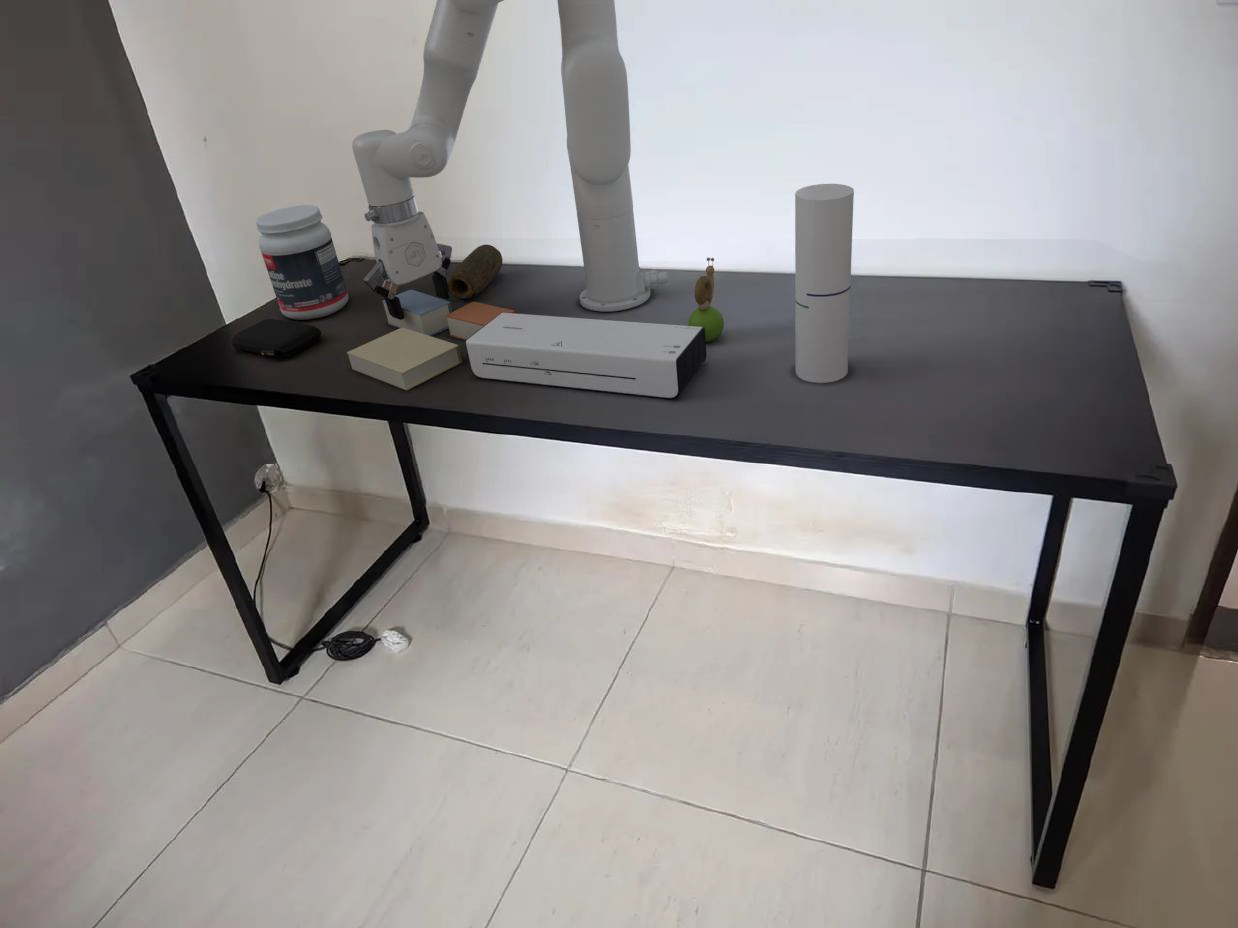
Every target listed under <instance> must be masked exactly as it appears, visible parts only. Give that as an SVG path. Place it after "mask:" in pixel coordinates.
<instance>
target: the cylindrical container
mask: <svg viewBox="0 0 1238 928" xmlns="http://www.w3.org/2000/svg"><path fill="white" fill-rule="evenodd" d="M854 194H855V190H854V188H853V187H852V186H849V185H846V184H841V183H819V184H812V185H807V186H803V187H801V188H799V189H797V190H796V191H795V193H794V233H795V234H794V239H795V240H794V243H795V244H794V246H795V249H794V250H795V251H794V252H795V253H794V254H795V255H794V258H795V260H794V263H795V264H794V268H795V269H794V271H795V272H794V274H795V275H794V277H795V279H794V280H795V281H794V283H795V285H794V286H795V287H794V289H795V290H794V291H795V292H794V293H795V295H794V296H795V298H794V299H795V300H794V301H795V304H794V305H795V306H794V307H795V309H794V310H795V311H794V312H795V321H794V324H795V332H794V333H795V335H794V336H795V337H794V339H795V351H794V353H795V359H794V361H795V365H794V367H795V374H796V376H797V377H798V378H799V379H800V380H803V381H806V382H808V383H809V382H810V383H815V384H825V383H833V382H836V381H839V380H842V379H844V378H845V377H846V376H847V375H848V371H849V345H850V344H849V342H850V316H851V315H850V311H851V310H850V309H851V287H852V286H851V283H852V258H853V257H852V256H853V255H852V254H853V253H852V252H853V251H852V250H853V226H854V225H853V223H854V222H853V221H854V197H855V196H854Z"/></svg>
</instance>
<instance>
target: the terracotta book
mask: <svg viewBox="0 0 1238 928" xmlns="http://www.w3.org/2000/svg"><path fill="white" fill-rule="evenodd" d="M500 313H514V314H516V311H515V309H509V308H504V307H500V306H496V305H491V304H486V303H483V302H479V301H472V302H470V303H468V304H466V305H463V306H461V307H460V308H458V309H455V310H452V312H451V313H449V314H447V315H445V316H446V317H447V321H448V326H449V328H448V330H449V337H451V338H455V339H460V340H464V341H465V340H466V339H468V338H469V337H470V336H472V335H473V334H474V333H476V332H477V331H478V330H479V329H481V328H482V327H483V326H485V325H486V324H487V323H488V322H490V321H491V320H492V319H494V318H495V317H496V316H498V315H499V314H500Z"/></svg>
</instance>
